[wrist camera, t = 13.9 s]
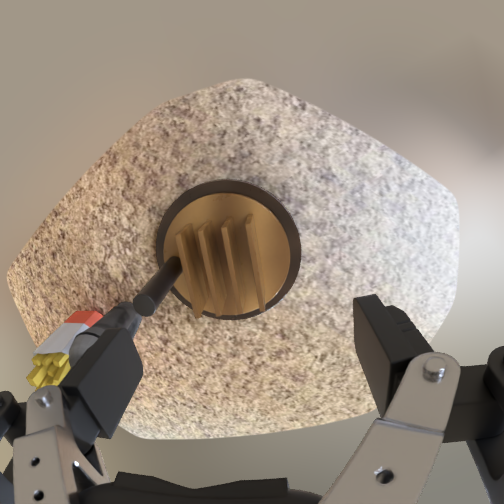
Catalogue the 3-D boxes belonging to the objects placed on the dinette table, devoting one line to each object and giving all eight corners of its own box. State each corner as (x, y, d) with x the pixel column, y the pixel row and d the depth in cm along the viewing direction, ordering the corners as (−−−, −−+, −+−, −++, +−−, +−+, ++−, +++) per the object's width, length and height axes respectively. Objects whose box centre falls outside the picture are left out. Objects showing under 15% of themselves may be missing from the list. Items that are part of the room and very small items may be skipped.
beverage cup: (148, 339, 46) (97, 429, 27) (108, 327, 46) (45, 406, 27) (151, 300, 44) (89, 387, 25) (108, 288, 44) (33, 362, 25)
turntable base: (166, 169, 38) (163, 170, 37) (313, 193, 38) (315, 195, 37) (155, 301, 44) (152, 305, 42) (283, 324, 44) (284, 330, 42)
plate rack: (280, 183, 36) (287, 196, 24) (296, 304, 41) (305, 360, 29) (153, 204, 38) (107, 227, 26) (181, 316, 42) (154, 371, 30)
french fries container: (104, 303, 45) (42, 369, 27) (123, 359, 48) (78, 432, 31) (83, 304, 45) (19, 365, 28) (102, 358, 48) (55, 426, 31)
